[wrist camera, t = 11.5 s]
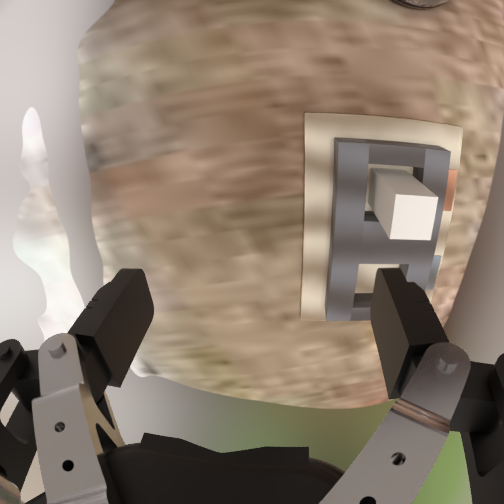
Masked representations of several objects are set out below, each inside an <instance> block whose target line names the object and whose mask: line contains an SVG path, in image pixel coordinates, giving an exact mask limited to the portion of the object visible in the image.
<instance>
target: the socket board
mask: <svg viewBox="0 0 504 504" xmlns="http://www.w3.org/2000/svg"><path fill="white" fill-rule="evenodd" d="M462 133H463V127H460V126H455V125H449V124H443V123H436V122H429V121H422V120H414V119H406V118H397V117H386V116H375V115H362V114H346V113H322V112H304V134H305V188H304V240H303V270H302V293H301V312H300V321H360V320H371V318H370V308H371V301H372V295H373V289H374V283H375V277H376V272H377V269H378V268H396V267H399V268H401V270H402V272H403V274H404V276H405V278H406V280H407V282H415V283H416V284H417V285H418V286H420V287H421V288H422V289H423V290H424V291H425V293H426V295H427V297H428V299H429V301H430V302H431V299H432V295H433V292H434V288H435V285H436V281H437V278H438V274H439V270H440V266H441V262H442V258H443V254H444V250H445V245H446V241H447V236H448V231H449V227H450V221H451V216H452V211H453V205H454V199H455V193H456V186H457V179H458V172H459V164H460V155H461V145H462ZM371 168H386V169H400V170H406V171H407V172H408V173H410V174H411V175H412V176H413V177H415V178H416V179H417V180H418V181H419V182H421V183H422V184H423V185H424V186H426V187H427V188H428V189H429V190H430V191H431V192H433V193H434V194H435V195H436V196H437V197H438V202H437V208H436V214H435V220H434V225H433V230H432V235H431V240H404V239H389V237H388V235H387V234H386V232H385V230H384V228H383V227H382V225H381V223H380V222H379V220H378V219H377V217H376V215H375V214H374V212H373V210H372V209H371V207H370V206H369V204H368V195H369V183H370V170H371Z"/></svg>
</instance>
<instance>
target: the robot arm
mask: <svg viewBox="0 0 504 504" xmlns="http://www.w3.org/2000/svg"><path fill="white" fill-rule="evenodd" d="M153 315H154V305H153V301H152V298H151V294H150V291H149V287H148V284H147V280H146V277H145V274H144V271H143V270H142V269H121V270H120V271H119V272H118V273H117V274H116V276H115V277H114V278H113V280H112V281H111V282H108V283H107V284H106V285H104V286H103V287H102V288H100V289H99V290H98V291H97V293H96V294H95V295H94V297H93V298H92V301H90V302H89V303H88V305H87V306H86V308H85V309H84V310H83V312H82V313H81V314H80V316H79V317H78V319H77V320H76V321H75V323H74V324H73V326H72V327H71V329H70V330H69V331H68V333H61V334H57V335H54V336H52V337H50V338H48V339H47V340H46V341H45V342H44V343H43V344H42V346H41V347H40V349H39V350H30V351H25V350H24V349H23V347H22V346H21V344H20V342H19V341H17V340H15V339H9V340H6V341H4V342H2V343H0V411H1V409H2V407H3V405H4V403H5V401H6V399H7V398H8V396H9V394H10V392H11V391H12V393H13V394H14V395H15V396H16V398H17V399H18V400H19V402H18V404H17V406H16V408H15V410H14V412H13V414H12V415H11V417H10V419H9V422H8V423H7V425H6V427H5V426H4V425H3V424H2V423H1V420H0V504H412V502H413V500H414V499H415V497H416V496H417V494H418V492H419V490H420V489H421V487H422V485H423V483H424V482H425V480H426V478H427V476H428V474H429V473H430V471H431V469H432V467H433V465H434V463H435V461H436V459H437V457H438V455H439V453H440V451H441V449H442V447H443V445H444V443H445V441H446V438H447V436H448V434H449V431H458V432H460V433H461V438H462V442H463V447H464V452H465V458H466V463H467V469H468V475H469V481H470V488H471V495H472V503H473V504H504V354H502V355H500V356H499V358H498V359H497V361H496V363H495V364H494V365H493V364H485V363H478V362H472V361H470V359H469V356H468V355H467V353H466V352H465V351H464V350H463V349H462V348H460V347H459V346H457V345H455V344H452V343H449V341H448V339H447V336H446V334H445V332H444V330H443V327H442V325H441V323H440V321H439V319H438V317H437V315H436V313H435V312H434V309H433V307H432V305H431V304H430V301H429V299H428V297H427V295H426V293H425V291H424V290H423V289H422V288H421V287H420V286H418V285H417V284H416V283H415V282H407V280H406V278H405V276H404V274H403V272H402V270H401V268H399V267H396V268H378V269H377V272H376V277H375V283H374V289H373V295H372V301H371V308H370V318H371V324H372V328H373V332H374V336H375V340H376V344H377V348H378V352H379V356H380V361H381V365H382V369H383V374H384V378H385V383H386V388H387V392H388V397H389V399H396V398H399V400H398V401H396V402H395V403H394V404H393V406H392V407H391V409H390V410H389V412H388V413H387V415H386V416H385V418H384V420H383V421H382V423H381V424H380V426H379V427H378V428H377V430H376V431H375V433H374V434H373V436H372V437H371V439H370V440H369V442H368V443H367V444H366V446H365V447H364V448H363V450H362V451H361V452H360V454H359V455H358V456H357V458H356V459H355V461H354V462H353V463H352V464H351V466H350V467H349V468H348V470H347V471H346V472H344V471H343V470H341V469H339V468H338V467H336V466H334V465H331V464H329V463H327V462H324V461H321V460H318V459H314V458H310V457H309V447H261V448H255V449H248V450H242V451H235V452H227V453H219V452H215V451H212V450H209V449H206V448H204V447H201V446H198V445H196V444H193V443H190V442H188V441H185V440H183V439H179V438H173V437H166V436H160V435H155V434H149V433H144V435H143V438H142V440H141V443H135V444H128V445H126V444H125V443H124V441H123V439H122V437H121V435H120V432H119V429H118V427H117V424H116V421H115V418H114V415H113V412H112V409H111V406H110V403H109V399H108V397H107V394H106V393H105V389H106V387H107V385H109V386H114V387H121V385H122V382H123V380H124V378H125V376H126V374H127V372H128V369H129V367H130V365H131V363H132V361H133V359H134V357H135V355H136V352H137V350H138V348H139V346H140V344H141V342H142V340H143V338H144V336H145V334H146V332H147V330H148V328H149V326H150V324H151V322H152V319H153ZM36 451H38V458H39V463H40V469H41V474H42V479H43V484H44V488H45V492H44V493H42V494H40V495H39V496H37V497H35V498H33V499H32V500H30V501H28V502H26V503H24V502H23V501H22V500H21V496H20V492H21V489H22V486H23V484H24V481H25V478H26V476H27V473H28V471H29V468H30V465H31V463H32V460H33V458H34V456H35V453H36Z"/></svg>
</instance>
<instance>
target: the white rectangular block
mask: <svg viewBox="0 0 504 504" xmlns="http://www.w3.org/2000/svg"><path fill="white" fill-rule="evenodd" d="M437 202H438V197H437V196H436V195H435V194H434V193H433V192H431V191H430V190H429V189H428V188H427V187H426V186H424V185H423V184H422V183H421V182H419V181H418V180H417V179H416V178H415V177H413V176H412V175H411V174H410V173H408V172H407V171H406V170H400V169H386V168H371V170H370V183H369V195H368V204H369V206H370V207H371V209H372V210H373V212H374V214H375V215H376V217H377V219H378V220H379V222H380V223H381V225H382V227H383V228H384V230H385V232H386V234H387V235H388V237H389V239H404V240H431V235H432V230H433V225H434V220H435V214H436V208H437Z"/></svg>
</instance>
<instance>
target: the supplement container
mask: <svg viewBox="0 0 504 504" xmlns="http://www.w3.org/2000/svg"><path fill="white" fill-rule="evenodd" d="M394 1H395V2H397V3H399V4H402V5H404V6H407V7H411V8H416V9H431V8H435V7H438V6H440V5H442V4H444V3H445V2H447V1H449V0H394Z"/></svg>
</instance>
